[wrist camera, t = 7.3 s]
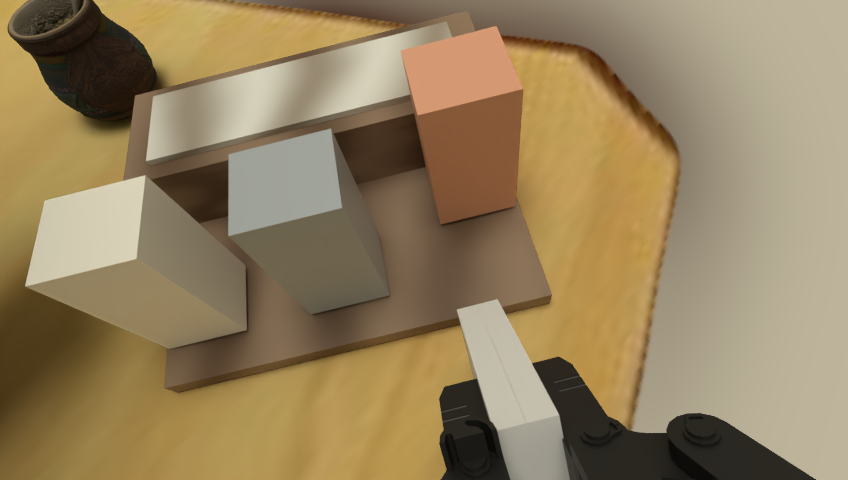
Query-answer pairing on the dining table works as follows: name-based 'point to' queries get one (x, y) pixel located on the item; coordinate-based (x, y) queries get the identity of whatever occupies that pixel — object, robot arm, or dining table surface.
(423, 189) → the key console
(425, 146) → the pink tall block
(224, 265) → the ivory key
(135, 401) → the dining table surface
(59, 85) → the mate gourd
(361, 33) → the dining table surface
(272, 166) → the slate key
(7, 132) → the dining table surface
